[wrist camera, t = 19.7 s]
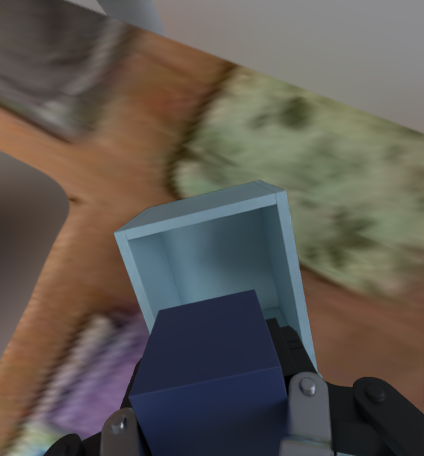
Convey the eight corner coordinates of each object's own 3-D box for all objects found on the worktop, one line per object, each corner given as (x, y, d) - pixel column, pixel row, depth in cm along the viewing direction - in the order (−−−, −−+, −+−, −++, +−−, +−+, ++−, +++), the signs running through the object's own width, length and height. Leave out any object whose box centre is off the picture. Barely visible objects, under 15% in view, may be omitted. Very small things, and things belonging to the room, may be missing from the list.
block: (158, 309, 13) (127, 397, 8) (254, 288, 13) (280, 365, 8) (184, 386, 14) (170, 502, 9) (272, 369, 14) (305, 479, 9)
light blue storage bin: (146, 208, 28) (113, 232, 18) (260, 179, 27) (286, 190, 18) (184, 328, 32) (173, 400, 22) (285, 306, 31) (317, 371, 21)
